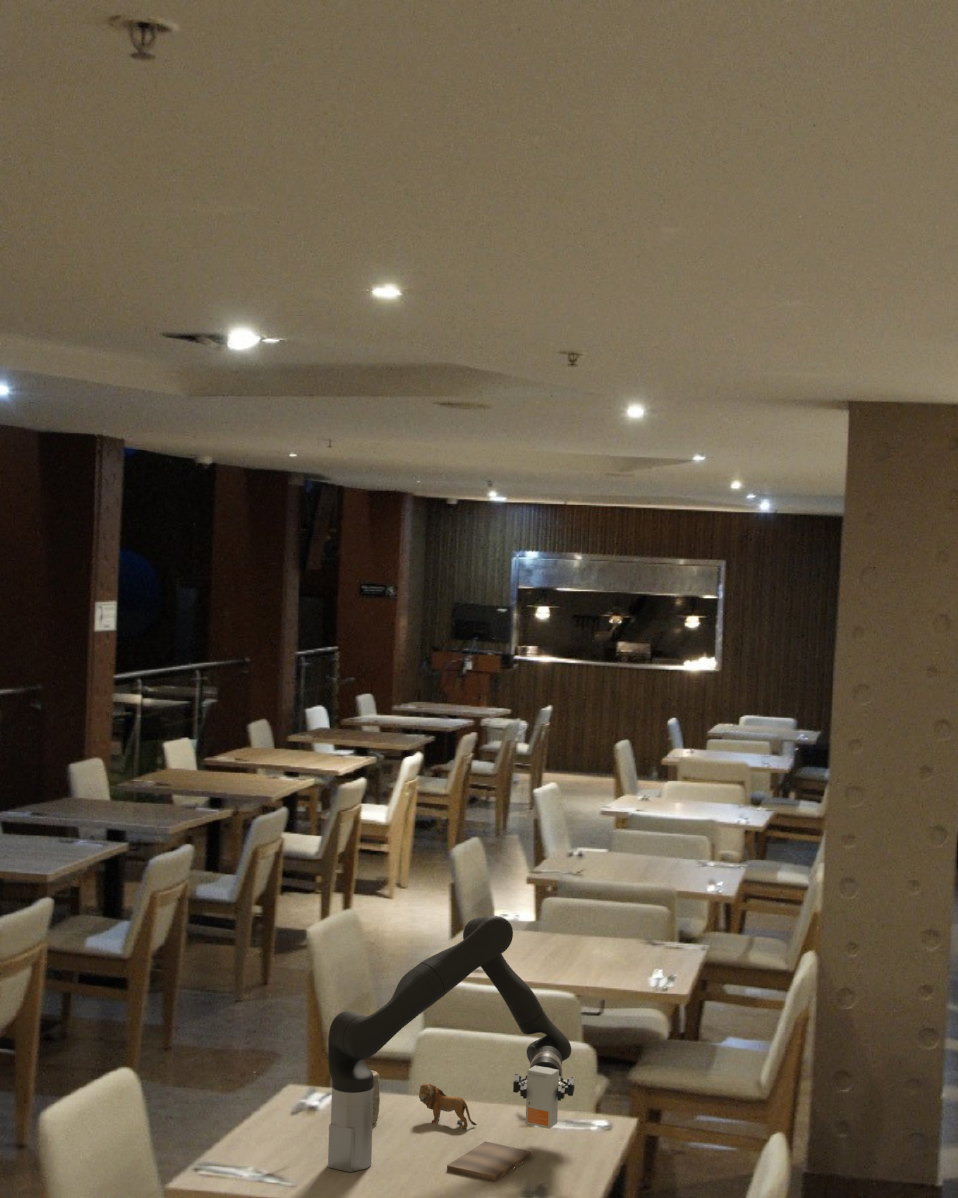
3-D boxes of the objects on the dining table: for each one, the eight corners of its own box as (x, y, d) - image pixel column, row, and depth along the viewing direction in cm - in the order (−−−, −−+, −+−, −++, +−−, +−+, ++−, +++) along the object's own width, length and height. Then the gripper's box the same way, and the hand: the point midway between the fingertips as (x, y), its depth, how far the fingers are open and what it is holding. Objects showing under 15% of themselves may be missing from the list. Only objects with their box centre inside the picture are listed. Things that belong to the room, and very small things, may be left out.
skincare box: (524, 1124, 343) (526, 1069, 343) (533, 1118, 346) (534, 1064, 346) (549, 1129, 340) (551, 1074, 340) (558, 1124, 344) (559, 1069, 344)
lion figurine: (414, 1123, 376) (415, 1085, 376) (421, 1116, 381) (422, 1079, 381) (473, 1130, 372) (474, 1093, 372) (479, 1123, 377) (480, 1086, 377)
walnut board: (495, 1181, 339) (495, 1176, 339) (446, 1171, 345) (447, 1165, 345) (531, 1156, 355) (532, 1151, 355) (485, 1146, 361) (485, 1141, 361)
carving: (384, 1121, 377) (386, 1071, 377) (366, 1129, 370) (368, 1079, 370) (363, 1115, 380) (364, 1066, 380) (344, 1124, 373) (346, 1074, 373)
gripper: (514, 1054, 358) (509, 1076, 341) (577, 1057, 357) (575, 1080, 340) (513, 1086, 358) (508, 1110, 342) (576, 1090, 357) (574, 1114, 340)
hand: (542, 1095), depth 341 cm, fingers closed on skincare box, 7 cm apart
